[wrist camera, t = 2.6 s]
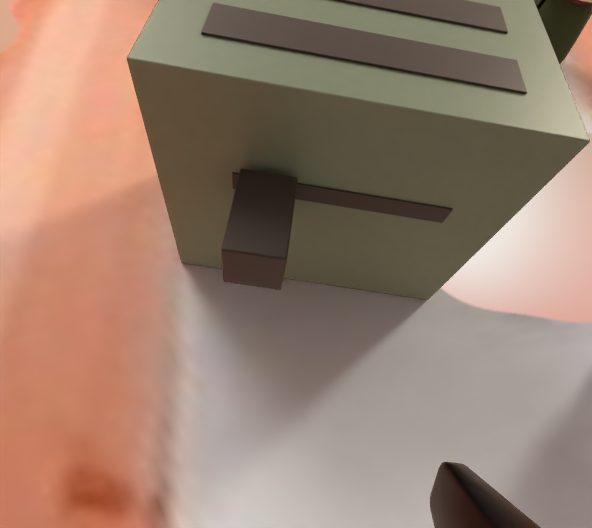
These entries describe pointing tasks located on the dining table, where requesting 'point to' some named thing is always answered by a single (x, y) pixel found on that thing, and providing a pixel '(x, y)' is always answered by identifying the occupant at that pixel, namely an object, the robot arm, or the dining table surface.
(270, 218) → the slider
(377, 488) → the dining table surface
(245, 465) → the dining table surface
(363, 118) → the toaster
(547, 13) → the character mug
